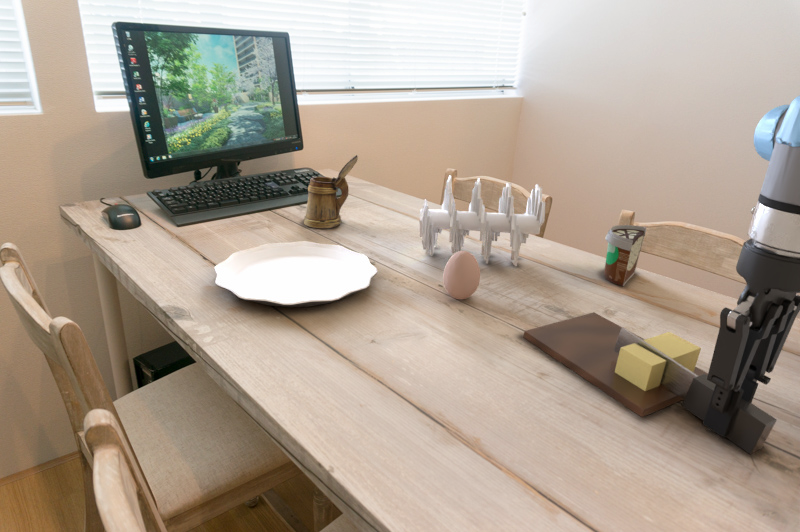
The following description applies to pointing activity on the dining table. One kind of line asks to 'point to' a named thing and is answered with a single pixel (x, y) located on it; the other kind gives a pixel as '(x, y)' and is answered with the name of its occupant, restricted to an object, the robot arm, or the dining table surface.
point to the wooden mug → (327, 198)
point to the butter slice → (640, 366)
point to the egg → (461, 275)
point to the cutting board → (599, 359)
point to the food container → (623, 252)
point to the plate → (295, 273)
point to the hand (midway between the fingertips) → (722, 425)
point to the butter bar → (676, 349)
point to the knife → (707, 398)
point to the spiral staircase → (482, 220)
